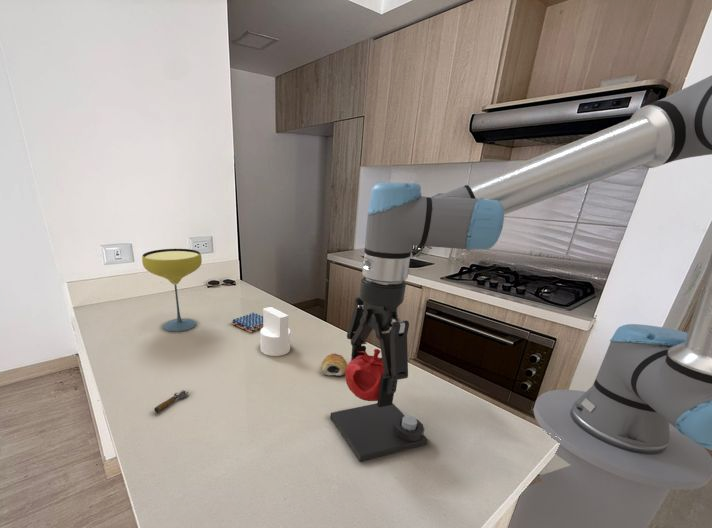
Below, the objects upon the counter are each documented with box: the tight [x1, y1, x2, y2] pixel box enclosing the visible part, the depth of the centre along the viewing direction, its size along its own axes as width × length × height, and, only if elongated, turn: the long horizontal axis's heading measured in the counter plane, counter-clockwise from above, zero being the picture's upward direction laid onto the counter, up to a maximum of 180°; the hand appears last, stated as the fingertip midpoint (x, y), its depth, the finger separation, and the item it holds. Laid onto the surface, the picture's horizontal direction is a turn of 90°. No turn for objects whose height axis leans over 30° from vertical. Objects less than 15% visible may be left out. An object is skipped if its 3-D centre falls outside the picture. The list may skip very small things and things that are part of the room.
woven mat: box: [231, 312, 263, 333], centre depth 120 cm, size 10×11×2 cm
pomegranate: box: [344, 348, 385, 402], centre depth 65 cm, size 10×10×9 cm
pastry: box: [320, 353, 348, 377], centre depth 93 cm, size 9×7×4 cm
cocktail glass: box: [141, 248, 203, 333], centre depth 114 cm, size 18×18×25 cm
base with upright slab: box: [259, 306, 291, 357], centre depth 101 cm, size 9×9×12 cm
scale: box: [329, 402, 429, 463], centre depth 70 cm, size 15×13×3 cm
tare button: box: [401, 415, 418, 431], centre depth 68 cm, size 3×3×2 cm
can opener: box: [154, 389, 189, 413], centre depth 78 cm, size 9×2×1 cm, turn 144°
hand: (369, 388), depth 67 cm, fingers closed on pomegranate, 10 cm apart
